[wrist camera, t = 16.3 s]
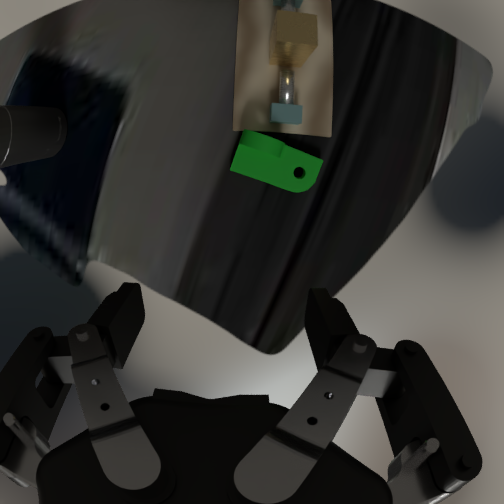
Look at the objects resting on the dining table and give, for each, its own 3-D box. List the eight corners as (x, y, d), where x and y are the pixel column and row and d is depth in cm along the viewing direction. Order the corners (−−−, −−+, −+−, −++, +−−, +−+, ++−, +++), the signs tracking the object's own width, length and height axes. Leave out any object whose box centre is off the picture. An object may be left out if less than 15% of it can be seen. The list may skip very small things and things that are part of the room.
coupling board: (233, 130, 37) (231, 128, 33) (240, -9, 28) (240, -22, 23) (328, 137, 37) (337, 136, 33) (328, 0, 28) (335, -11, 24)
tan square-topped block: (269, 64, 32) (276, 41, 23) (269, 38, 30) (277, 9, 21) (300, 67, 32) (317, 45, 23) (300, 41, 30) (317, 14, 21)
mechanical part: (230, 168, 39) (227, 174, 32) (244, 131, 37) (243, 127, 30) (305, 195, 41) (318, 207, 34) (319, 159, 39) (336, 163, 32)
